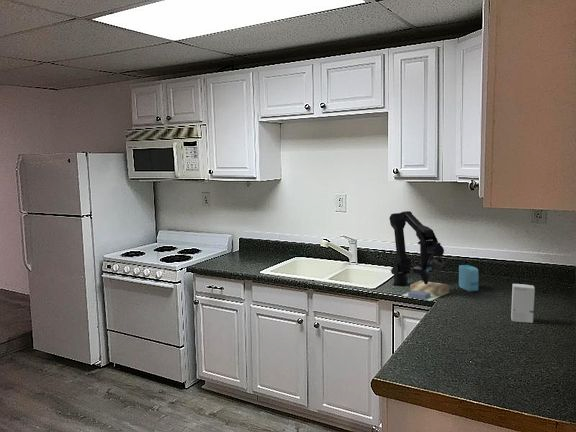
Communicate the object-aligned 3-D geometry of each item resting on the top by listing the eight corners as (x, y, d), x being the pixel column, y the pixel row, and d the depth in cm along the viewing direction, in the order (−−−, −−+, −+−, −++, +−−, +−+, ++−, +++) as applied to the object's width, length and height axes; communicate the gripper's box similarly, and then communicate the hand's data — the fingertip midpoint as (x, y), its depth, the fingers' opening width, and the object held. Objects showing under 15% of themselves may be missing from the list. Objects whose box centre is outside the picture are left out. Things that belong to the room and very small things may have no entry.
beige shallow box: (410, 292, 254) (410, 284, 254) (420, 287, 262) (420, 280, 262) (439, 296, 243) (439, 289, 243) (449, 292, 251) (449, 284, 251)
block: (413, 290, 249) (413, 294, 249) (408, 292, 244) (408, 296, 244) (430, 292, 243) (430, 296, 243) (425, 295, 238) (425, 299, 238)
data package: (478, 291, 251) (478, 268, 250) (470, 292, 250) (470, 269, 249) (466, 286, 263) (466, 264, 262) (458, 286, 262) (458, 264, 261)
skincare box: (511, 321, 203) (512, 286, 201) (510, 317, 208) (511, 283, 207) (534, 323, 200) (535, 287, 198) (532, 319, 205) (533, 284, 204)
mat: (401, 295, 247) (401, 295, 247) (410, 292, 254) (410, 291, 254) (431, 300, 237) (431, 300, 237) (439, 296, 243) (439, 296, 243)
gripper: (432, 258, 235) (432, 290, 237) (449, 252, 249) (449, 282, 251) (411, 256, 243) (411, 287, 244) (428, 250, 257) (428, 279, 258)
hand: (426, 284), depth 249 cm, fingers closed
